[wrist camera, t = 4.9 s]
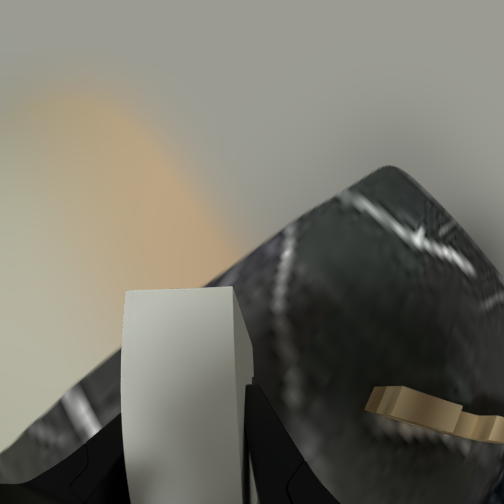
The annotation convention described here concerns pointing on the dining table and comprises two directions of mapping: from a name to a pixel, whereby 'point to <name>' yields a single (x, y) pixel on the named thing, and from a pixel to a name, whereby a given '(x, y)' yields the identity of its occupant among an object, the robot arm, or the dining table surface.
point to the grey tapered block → (186, 397)
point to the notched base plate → (434, 414)
